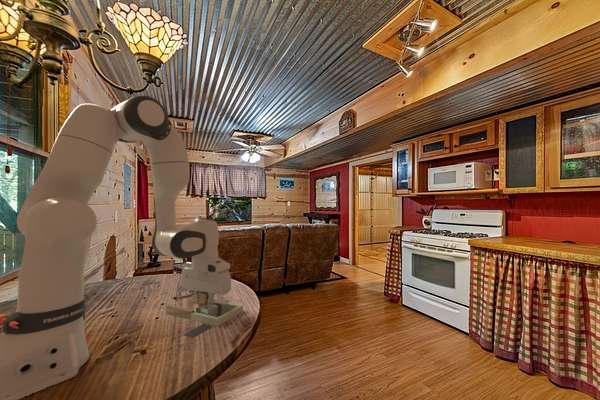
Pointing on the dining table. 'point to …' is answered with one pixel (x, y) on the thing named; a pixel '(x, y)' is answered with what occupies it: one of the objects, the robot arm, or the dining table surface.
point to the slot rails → (182, 309)
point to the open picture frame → (217, 321)
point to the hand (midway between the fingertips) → (204, 303)
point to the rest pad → (198, 330)
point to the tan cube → (209, 310)
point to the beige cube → (221, 305)
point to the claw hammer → (183, 296)
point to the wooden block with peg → (202, 300)
